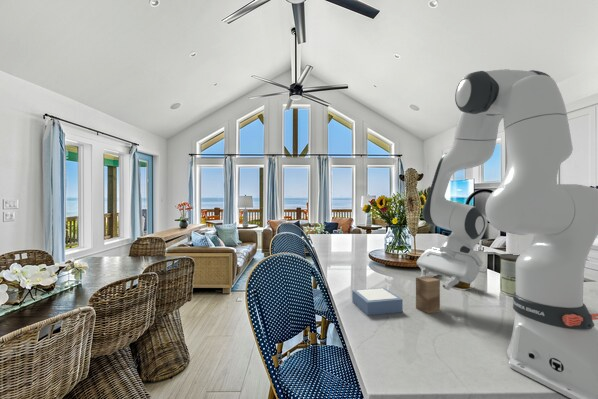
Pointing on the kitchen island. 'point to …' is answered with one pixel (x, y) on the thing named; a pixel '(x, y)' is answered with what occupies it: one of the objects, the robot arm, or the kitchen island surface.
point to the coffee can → (508, 274)
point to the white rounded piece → (430, 273)
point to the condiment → (462, 286)
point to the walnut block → (428, 294)
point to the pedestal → (377, 301)
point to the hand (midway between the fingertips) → (433, 284)
